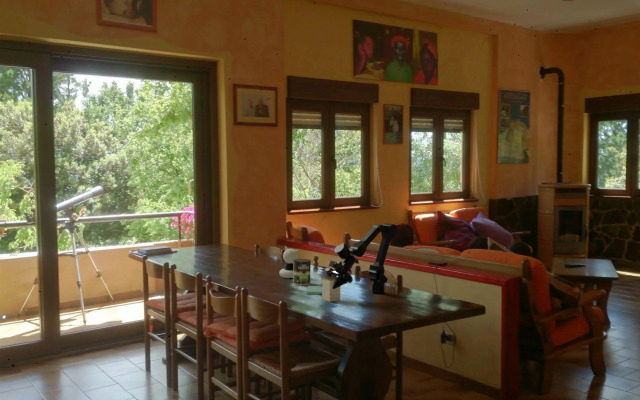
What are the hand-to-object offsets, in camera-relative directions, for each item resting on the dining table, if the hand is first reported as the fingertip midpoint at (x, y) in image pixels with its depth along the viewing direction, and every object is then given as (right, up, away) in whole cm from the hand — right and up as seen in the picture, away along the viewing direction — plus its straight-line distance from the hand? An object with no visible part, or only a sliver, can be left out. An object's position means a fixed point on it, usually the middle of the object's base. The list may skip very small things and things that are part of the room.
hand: (329, 287), depth 304 cm
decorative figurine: (-23, -3, +61) cm, 65 cm away
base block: (-4, -6, +20) cm, 22 cm away
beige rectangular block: (+1, -7, +1) cm, 7 cm away
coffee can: (-16, -4, +41) cm, 44 cm away
